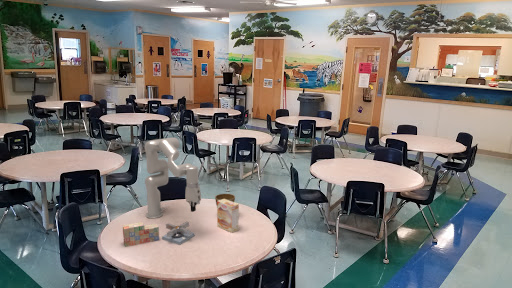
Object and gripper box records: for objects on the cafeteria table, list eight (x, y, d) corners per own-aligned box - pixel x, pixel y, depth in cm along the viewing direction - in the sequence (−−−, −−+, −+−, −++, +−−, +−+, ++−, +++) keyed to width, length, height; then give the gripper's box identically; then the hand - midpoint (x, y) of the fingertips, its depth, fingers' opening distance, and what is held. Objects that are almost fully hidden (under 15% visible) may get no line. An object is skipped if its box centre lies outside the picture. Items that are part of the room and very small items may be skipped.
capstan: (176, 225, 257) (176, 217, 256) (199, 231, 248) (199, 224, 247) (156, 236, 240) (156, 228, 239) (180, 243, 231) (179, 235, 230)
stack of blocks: (157, 236, 246) (156, 219, 244) (159, 240, 241) (158, 222, 238) (123, 242, 237) (122, 224, 234) (125, 247, 231) (123, 228, 228)
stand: (177, 230, 255) (177, 227, 254) (194, 235, 248) (194, 232, 247) (162, 239, 242) (162, 236, 241) (180, 245, 235) (179, 241, 234)
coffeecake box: (216, 226, 263) (216, 200, 258) (224, 223, 268) (224, 198, 264) (231, 233, 253) (231, 206, 248) (238, 230, 258) (239, 203, 254)
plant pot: (238, 215, 282) (238, 195, 279) (227, 222, 270) (227, 201, 267) (223, 211, 290) (223, 192, 287) (211, 217, 278) (211, 197, 274)
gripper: (205, 185, 241) (205, 211, 244) (187, 181, 248) (188, 207, 252) (198, 188, 234) (198, 215, 238) (179, 184, 242) (180, 210, 245)
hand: (193, 211), depth 245 cm, fingers closed
